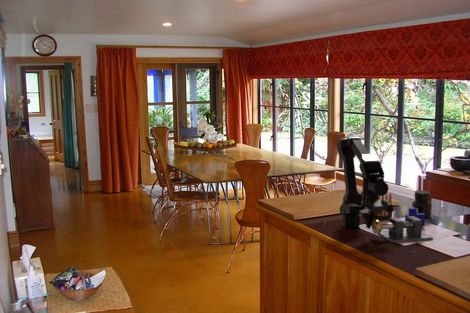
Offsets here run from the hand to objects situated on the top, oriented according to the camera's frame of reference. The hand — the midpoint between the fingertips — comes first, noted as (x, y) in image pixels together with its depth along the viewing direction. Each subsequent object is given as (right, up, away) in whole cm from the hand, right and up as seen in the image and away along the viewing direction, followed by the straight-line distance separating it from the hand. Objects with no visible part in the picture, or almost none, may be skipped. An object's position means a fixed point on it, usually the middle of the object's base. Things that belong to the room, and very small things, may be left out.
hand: (368, 228), depth 206 cm
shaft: (+11, -2, +2) cm, 11 cm away
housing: (+16, -4, +4) cm, 17 cm away
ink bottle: (+34, 0, +35) cm, 49 cm away
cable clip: (+27, -2, +24) cm, 36 cm away
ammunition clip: (+14, 0, +34) cm, 36 cm away
